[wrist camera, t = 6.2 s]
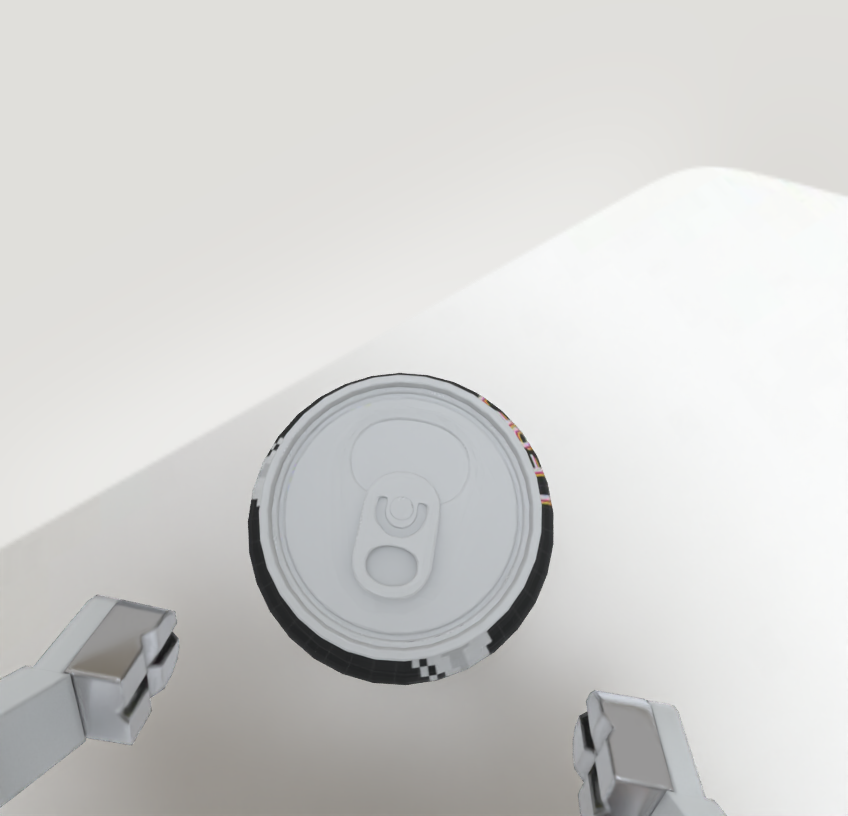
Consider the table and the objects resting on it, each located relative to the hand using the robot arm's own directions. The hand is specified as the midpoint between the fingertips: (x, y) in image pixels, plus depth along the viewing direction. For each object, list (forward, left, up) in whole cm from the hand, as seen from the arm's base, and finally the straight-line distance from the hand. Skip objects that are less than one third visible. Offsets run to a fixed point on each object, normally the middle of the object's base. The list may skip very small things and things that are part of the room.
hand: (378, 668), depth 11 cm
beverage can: (0, +3, -9) cm, 10 cm away
